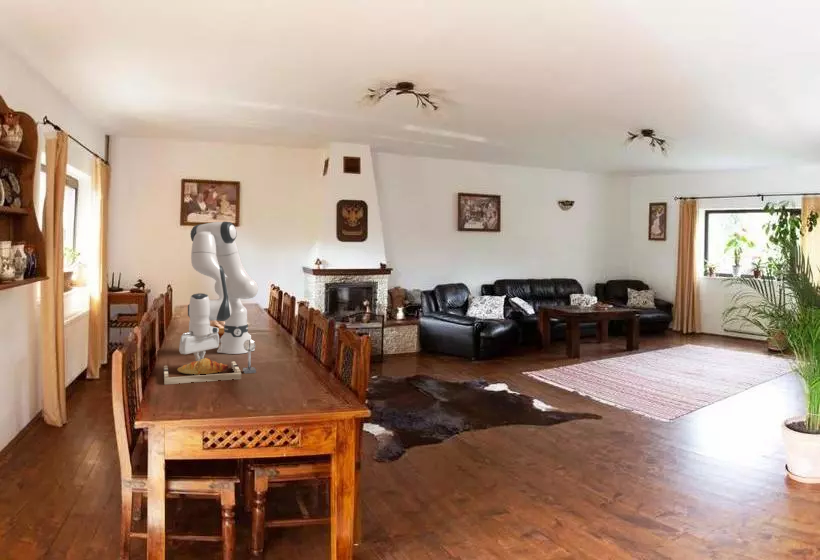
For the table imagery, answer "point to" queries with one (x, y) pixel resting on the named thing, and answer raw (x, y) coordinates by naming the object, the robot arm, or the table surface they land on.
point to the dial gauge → (249, 356)
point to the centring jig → (202, 376)
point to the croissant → (202, 367)
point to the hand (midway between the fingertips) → (199, 360)
